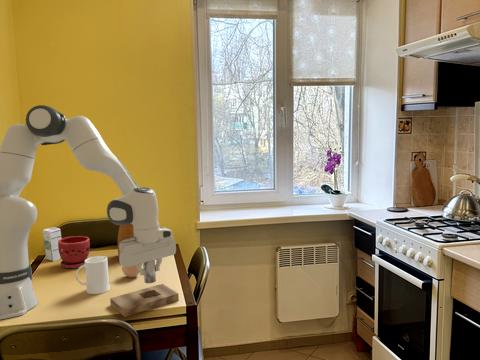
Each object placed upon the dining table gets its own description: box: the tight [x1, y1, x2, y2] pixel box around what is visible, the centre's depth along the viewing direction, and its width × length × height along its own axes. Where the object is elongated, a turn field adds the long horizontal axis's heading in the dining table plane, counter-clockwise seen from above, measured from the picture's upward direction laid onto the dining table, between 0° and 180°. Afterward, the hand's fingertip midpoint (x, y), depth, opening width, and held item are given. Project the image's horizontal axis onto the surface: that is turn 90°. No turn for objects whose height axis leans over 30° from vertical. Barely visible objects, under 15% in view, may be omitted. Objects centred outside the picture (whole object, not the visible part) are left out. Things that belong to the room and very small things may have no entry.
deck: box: [109, 283, 180, 318], centre depth 151 cm, size 20×12×2 cm, turn 127°
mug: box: [75, 255, 111, 295], centre depth 162 cm, size 12×8×12 cm
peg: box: [142, 260, 157, 284], centre depth 152 cm, size 4×4×8 cm
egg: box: [121, 265, 140, 278], centre depth 176 cm, size 7×7×8 cm
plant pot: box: [58, 235, 91, 269], centre depth 192 cm, size 13×13×12 cm
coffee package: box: [117, 224, 134, 260], centre depth 202 cm, size 10×12×22 cm
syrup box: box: [42, 226, 62, 262], centre depth 202 cm, size 6×6×14 cm
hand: (149, 272), depth 152 cm, fingers closed on peg, 4 cm apart
